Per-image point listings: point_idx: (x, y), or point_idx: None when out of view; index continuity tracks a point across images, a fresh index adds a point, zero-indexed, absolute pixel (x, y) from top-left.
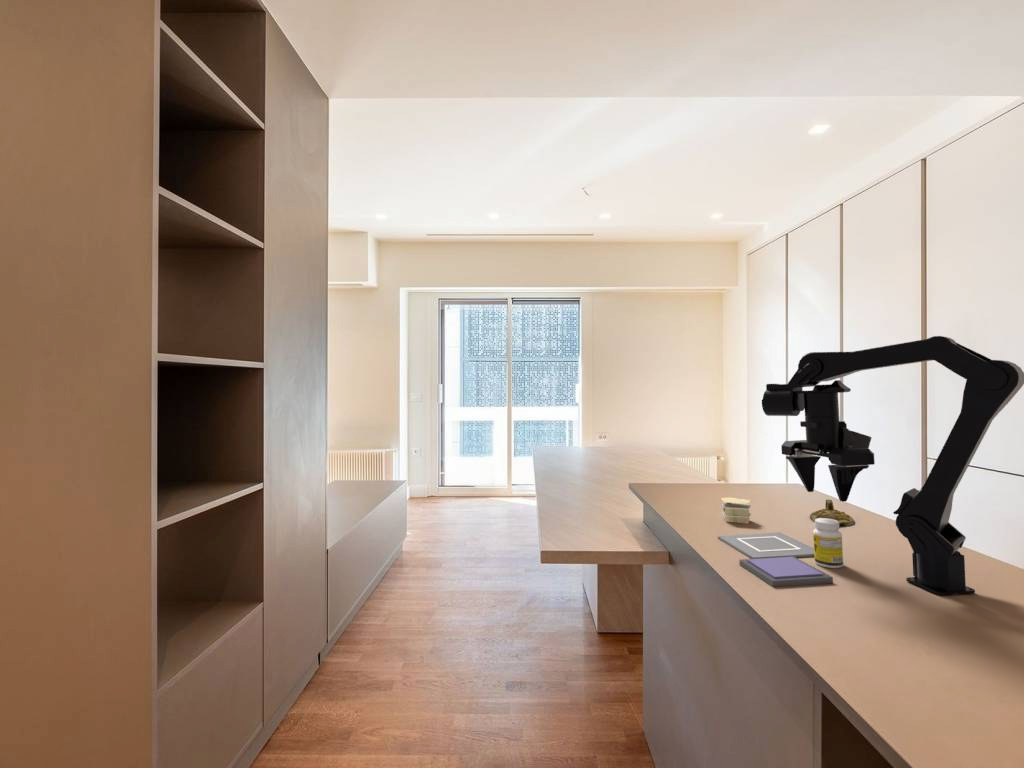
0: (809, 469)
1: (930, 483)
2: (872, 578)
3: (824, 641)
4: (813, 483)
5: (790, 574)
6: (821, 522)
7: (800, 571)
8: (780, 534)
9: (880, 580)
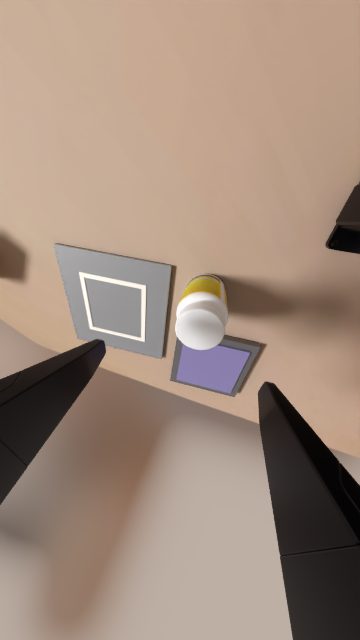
0: (19, 422)
1: None
2: (279, 285)
3: (333, 432)
4: (83, 359)
5: (232, 379)
6: (204, 348)
7: (231, 366)
8: (66, 253)
9: (291, 281)
